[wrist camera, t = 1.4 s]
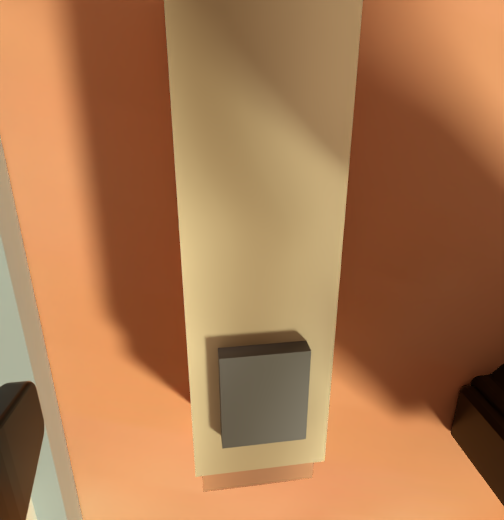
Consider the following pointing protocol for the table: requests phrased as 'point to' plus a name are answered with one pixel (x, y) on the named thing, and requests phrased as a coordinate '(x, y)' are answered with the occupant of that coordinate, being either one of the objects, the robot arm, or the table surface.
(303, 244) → the beam with grey square
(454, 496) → the table surface
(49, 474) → the jig
